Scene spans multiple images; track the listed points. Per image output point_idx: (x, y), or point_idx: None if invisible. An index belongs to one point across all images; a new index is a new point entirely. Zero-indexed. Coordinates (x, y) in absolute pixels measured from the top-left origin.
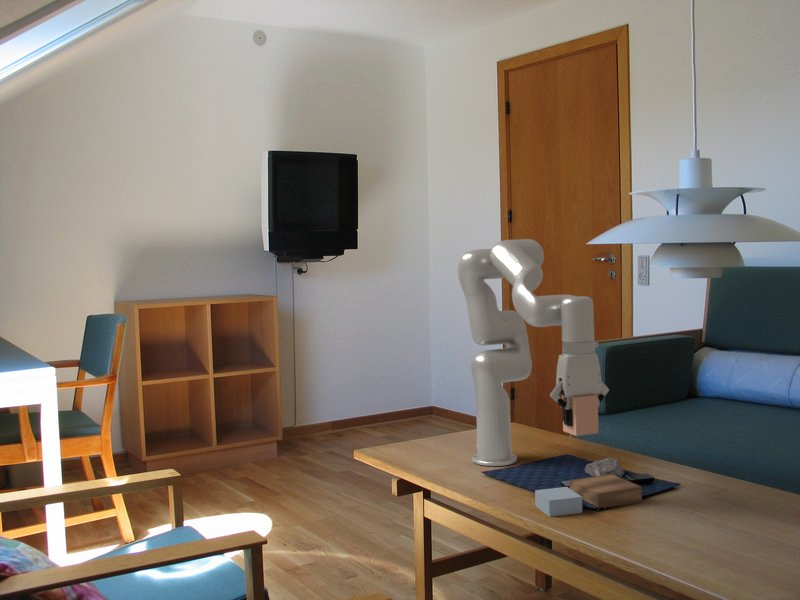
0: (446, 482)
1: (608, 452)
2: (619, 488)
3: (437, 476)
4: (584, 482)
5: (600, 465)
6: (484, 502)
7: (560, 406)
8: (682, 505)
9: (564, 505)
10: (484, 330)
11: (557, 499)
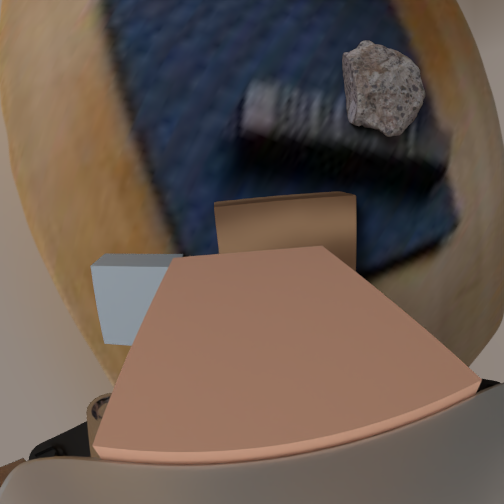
0: (13, 43)
1: None
2: None
3: (21, 5)
4: (245, 242)
5: (374, 98)
6: (21, 194)
7: (92, 408)
8: None
9: None
10: None
11: (123, 344)
